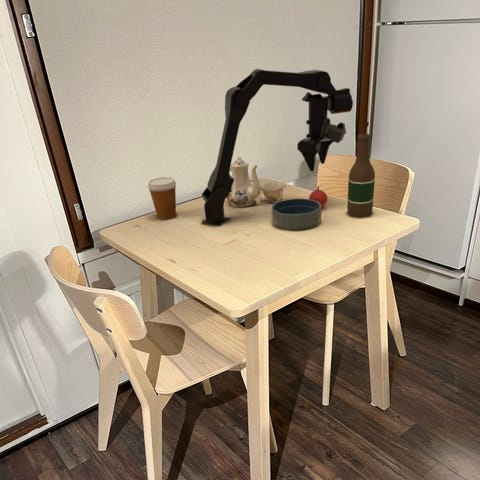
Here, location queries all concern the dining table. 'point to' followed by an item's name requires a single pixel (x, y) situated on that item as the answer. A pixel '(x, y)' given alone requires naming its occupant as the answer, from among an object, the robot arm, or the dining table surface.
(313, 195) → the apple
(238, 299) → the dining table surface
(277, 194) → the chinaware
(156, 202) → the disposable coffee cup
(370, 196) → the beer bottle
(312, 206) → the bowl
